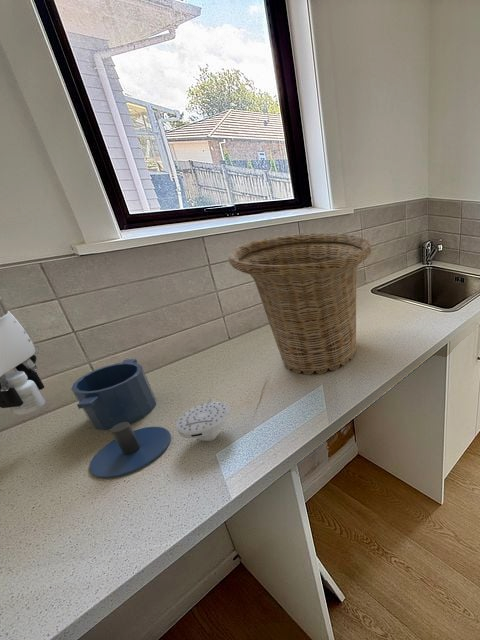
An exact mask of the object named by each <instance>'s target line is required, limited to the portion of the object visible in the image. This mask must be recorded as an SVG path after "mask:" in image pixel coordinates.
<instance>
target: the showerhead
mask: <svg viewBox="0 0 480 640" xmlns="http://www.w3.org/2000/svg"><path fill="white" fill-rule="evenodd" d="M231 413H232V412H231V410H230V406H229V405H228V404H227V403H225V402H222V401H212V397H207V402H204V403H201V404H199V405H196V406H194V407H192V408H190V409H188V410H187V411H185V412H184V413H182V415H181V416H180V417H179V418H178V419H177V420H176V423H175V430H176V431H177V433H178V435H179V436H180V437H182V438H185V439H197V440H198V441H206V442H212V441H214V440H215V439H216V438H217V437H218V435H219V434H220V433H221V431H222V430H223V427H224V426H225V425H226V424H227V423H228V422H229V420H230V419H231Z"/></svg>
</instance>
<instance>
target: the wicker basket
mask: <svg viewBox="0 0 480 640" xmlns="http://www.w3.org/2000/svg"><path fill="white" fill-rule="evenodd" d="M371 252H372V245H371V243H370V242H369V241H368V240H367V239H365V238H362V237H358V236H355V235H350V234H344V233H343V234H342V233H341V234H340V233H327V232H326V233H325V232H324V233H323V232H322V233H321V232H320V233H317V232H316V233H315V232H314V233H298V234H297V233H296V234H287V235H286V234H285V235H279V236H278V235H277V236H272V237H267V238H262V239H257V240H253V241H250V242H249V241H248V242H246V243H243V244H240V245H238V246H236V247H235V248H233V249H231V250H230V251H229V253H228V257H227V258H228V263H229V264H230V266H231V267H232V268H233V269H235V270H237V271H239V272H241V273H243V274H247V275H249V276H251V278H252V279H253V281H254V283H255V286H256V289H257V292H258V295H259V298H260V301H261V303H262V306H263V309H264V311H265V315H266V317H267V320H268V323H269V326H270V329H271V332H272V335H273V337H274V341H275V343H276V347H277V349H278V352H279V354H280V357H281V360H282V363H283V365H284V366H285V367H286V369H287V370H289V371H291V370H292V372H294V373H295V374H301V373H303V374H304V375H306V376H307V375H313V374H314V372H316V373H317V374H320V375H323V374H325V373H326V372H327V371H328V369H329V370H330V371H332V372H333V371H336V370H338V369H339V368H340V366H346V365H347V364H348V363H349V361H350V360H353V359H354V357H355V354H356V352H357V351H356V349H357V344H356V343H357V271H358V266H359V265H360V264H361V263H363V262H364V261H365V260H367V259H368V258H369V257H370V255H371Z"/></svg>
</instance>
